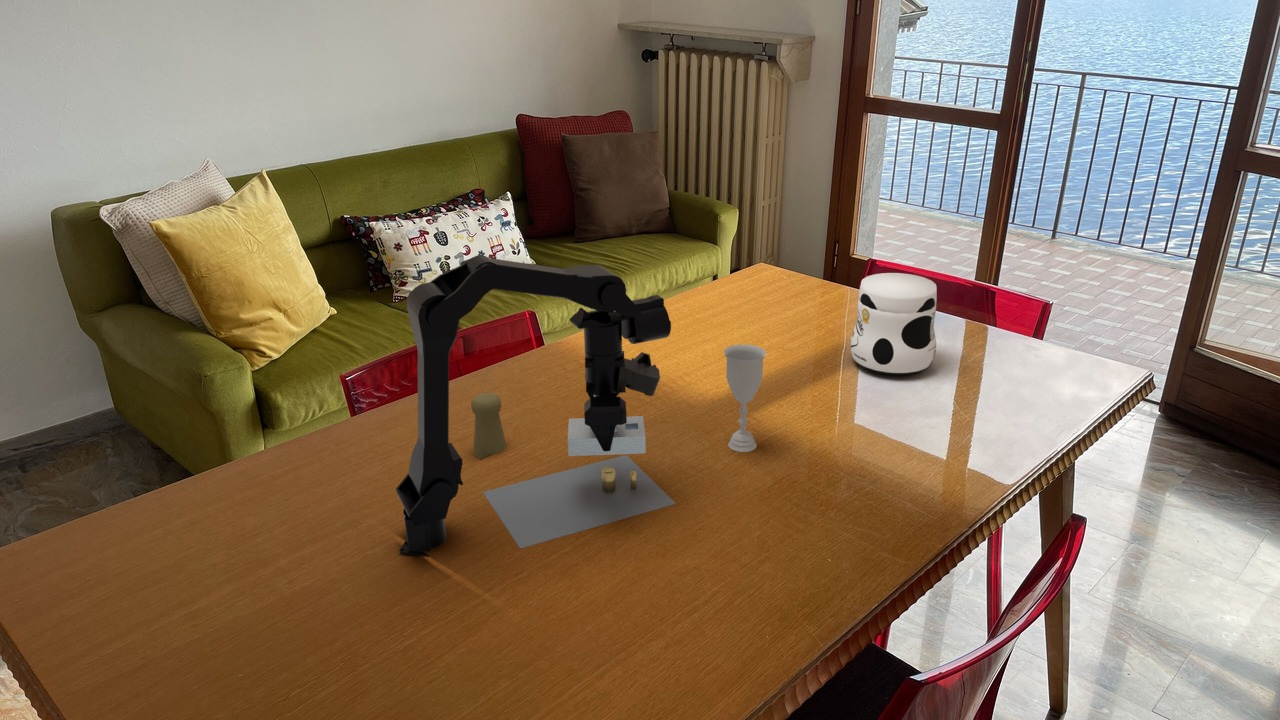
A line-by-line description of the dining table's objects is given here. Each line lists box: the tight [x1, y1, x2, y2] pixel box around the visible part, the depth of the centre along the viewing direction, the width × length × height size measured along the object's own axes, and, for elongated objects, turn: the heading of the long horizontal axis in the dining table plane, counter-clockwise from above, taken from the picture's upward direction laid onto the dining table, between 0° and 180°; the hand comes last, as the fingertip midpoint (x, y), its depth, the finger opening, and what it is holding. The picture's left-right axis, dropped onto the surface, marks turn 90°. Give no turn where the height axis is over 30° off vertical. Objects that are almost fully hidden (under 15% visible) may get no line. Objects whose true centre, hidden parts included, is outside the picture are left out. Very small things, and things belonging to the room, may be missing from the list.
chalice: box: [723, 344, 767, 453], centre depth 164 cm, size 7×7×18 cm
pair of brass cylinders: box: [601, 467, 637, 493], centre depth 152 cm, size 6×2×4 cm, turn 92°
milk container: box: [850, 272, 938, 376], centre depth 195 cm, size 17×17×18 cm
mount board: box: [482, 454, 677, 550], centre depth 151 cm, size 26×18×1 cm
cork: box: [470, 392, 508, 460], centre depth 165 cm, size 6×6×11 cm
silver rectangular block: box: [567, 415, 647, 457], centre depth 149 cm, size 12×7×3 cm, turn 92°
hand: (606, 439), depth 149 cm, fingers closed on silver rectangular block, 7 cm apart
